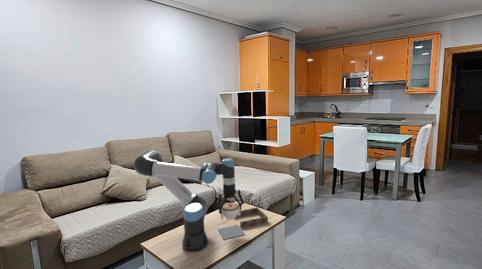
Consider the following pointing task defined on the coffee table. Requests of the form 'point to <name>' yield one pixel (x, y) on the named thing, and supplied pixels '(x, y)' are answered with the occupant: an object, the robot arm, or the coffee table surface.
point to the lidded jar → (230, 210)
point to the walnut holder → (252, 222)
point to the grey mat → (231, 232)
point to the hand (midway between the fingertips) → (230, 216)
